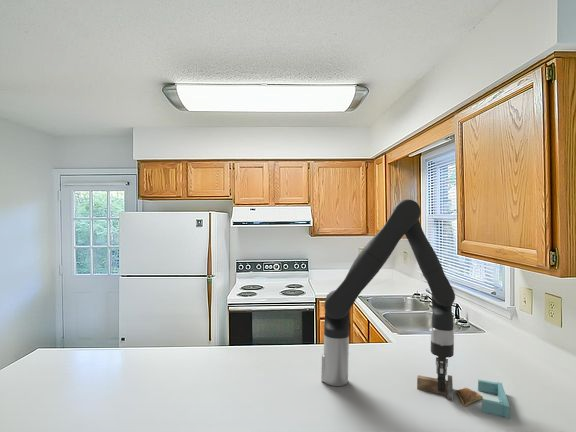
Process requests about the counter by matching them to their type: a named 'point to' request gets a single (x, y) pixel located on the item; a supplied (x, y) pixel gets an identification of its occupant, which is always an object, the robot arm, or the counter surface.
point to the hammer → (435, 385)
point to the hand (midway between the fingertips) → (441, 389)
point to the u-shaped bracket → (493, 406)
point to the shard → (468, 396)
